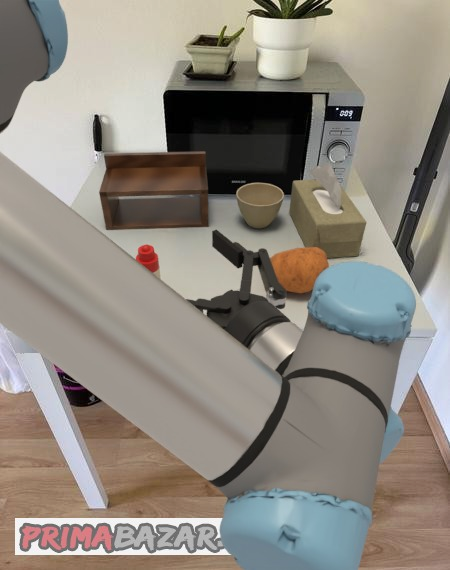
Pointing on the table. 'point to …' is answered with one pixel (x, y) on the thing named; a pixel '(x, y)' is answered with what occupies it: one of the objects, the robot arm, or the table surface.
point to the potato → (299, 268)
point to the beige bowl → (259, 203)
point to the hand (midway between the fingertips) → (173, 253)
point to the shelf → (154, 190)
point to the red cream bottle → (149, 259)
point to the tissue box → (326, 214)
